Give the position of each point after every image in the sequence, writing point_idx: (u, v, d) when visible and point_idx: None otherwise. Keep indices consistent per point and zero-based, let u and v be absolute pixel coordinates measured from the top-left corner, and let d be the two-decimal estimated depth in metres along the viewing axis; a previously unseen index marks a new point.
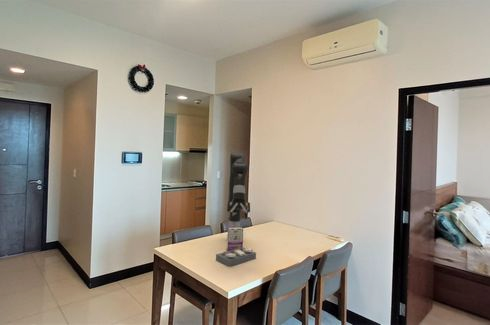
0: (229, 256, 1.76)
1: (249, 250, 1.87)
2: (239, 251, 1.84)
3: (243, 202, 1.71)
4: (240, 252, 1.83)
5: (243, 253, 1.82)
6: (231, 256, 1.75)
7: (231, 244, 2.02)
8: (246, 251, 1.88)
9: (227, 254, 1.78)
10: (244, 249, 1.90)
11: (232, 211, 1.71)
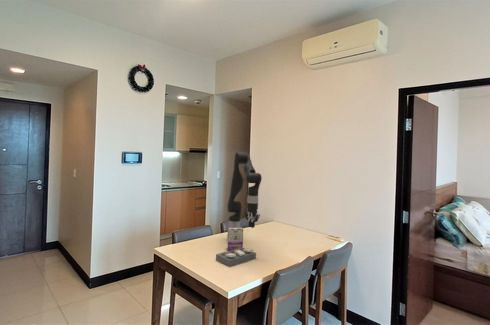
0: (229, 256, 1.76)
1: (249, 250, 1.87)
2: (239, 251, 1.84)
3: (254, 211, 1.85)
4: (240, 252, 1.83)
5: (243, 253, 1.82)
6: (231, 256, 1.75)
7: (231, 244, 2.02)
8: (246, 251, 1.88)
9: (227, 254, 1.78)
10: (244, 249, 1.90)
11: (251, 219, 1.89)
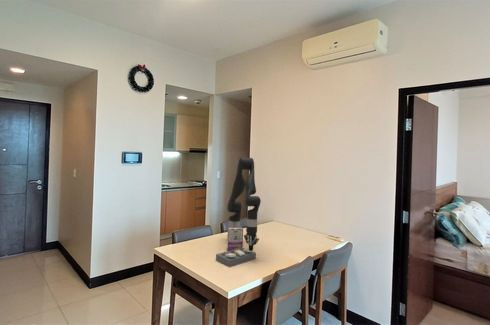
0: (229, 256, 1.76)
1: (249, 250, 1.87)
2: (239, 251, 1.84)
3: (253, 235, 1.85)
4: (240, 252, 1.83)
5: (243, 253, 1.82)
6: (231, 256, 1.75)
7: (231, 244, 2.02)
8: (246, 251, 1.88)
9: (227, 254, 1.78)
10: (244, 249, 1.90)
11: None
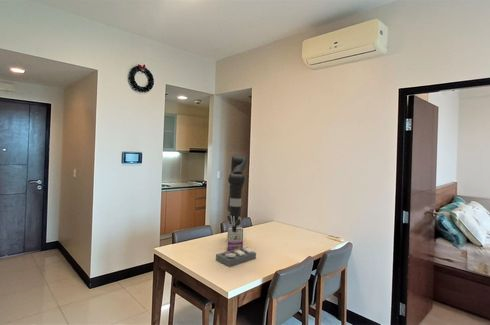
0: (229, 256, 1.76)
1: (249, 252, 1.86)
2: (239, 251, 1.84)
3: (237, 215, 1.73)
4: (240, 252, 1.83)
5: (243, 253, 1.82)
6: (231, 256, 1.75)
7: (231, 244, 2.02)
8: (246, 251, 1.88)
9: (227, 254, 1.78)
10: (244, 248, 1.90)
11: (235, 223, 1.78)
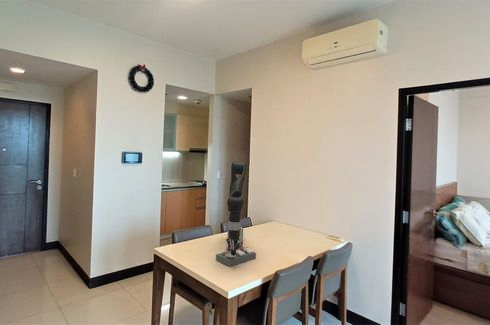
0: (229, 256, 1.76)
1: (249, 252, 1.86)
2: (239, 251, 1.84)
3: (236, 239, 1.73)
4: (240, 252, 1.83)
5: (243, 253, 1.82)
6: (231, 256, 1.75)
7: None
8: (246, 251, 1.88)
9: (227, 254, 1.78)
10: (244, 248, 1.90)
11: None
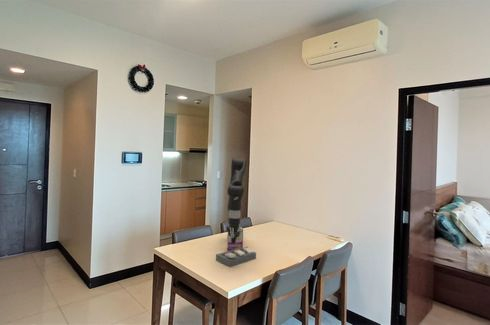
0: (229, 256, 1.76)
1: (249, 252, 1.86)
2: (239, 251, 1.84)
3: (236, 227, 1.73)
4: (240, 252, 1.83)
5: (243, 253, 1.82)
6: (231, 257, 1.75)
7: (231, 244, 2.02)
8: (246, 251, 1.88)
9: (227, 254, 1.78)
10: (245, 248, 1.90)
11: (234, 234, 1.78)
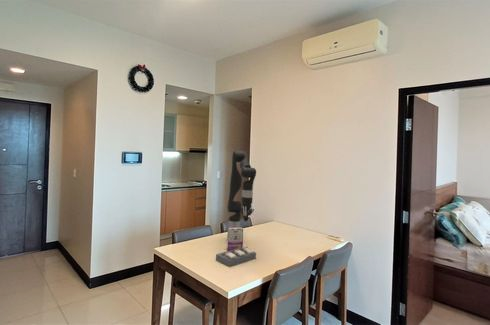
0: (229, 257, 1.76)
1: (249, 252, 1.86)
2: (239, 251, 1.84)
3: (248, 205, 1.87)
4: (240, 252, 1.83)
5: (243, 253, 1.82)
6: (231, 257, 1.75)
7: (231, 244, 2.02)
8: (246, 251, 1.88)
9: (227, 254, 1.78)
10: (245, 248, 1.90)
11: None
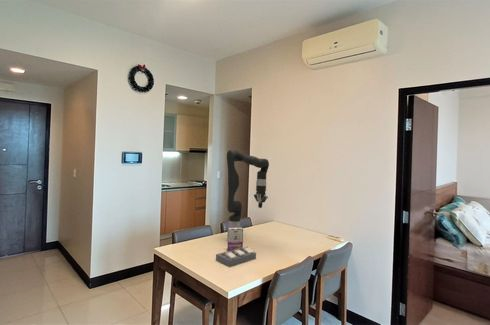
0: (229, 257, 1.76)
1: (249, 252, 1.86)
2: (239, 251, 1.84)
3: (263, 193, 2.05)
4: (240, 252, 1.83)
5: (243, 253, 1.82)
6: (231, 258, 1.75)
7: (231, 244, 2.02)
8: (246, 251, 1.88)
9: (227, 253, 1.78)
10: (245, 248, 1.90)
11: None
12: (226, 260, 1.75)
